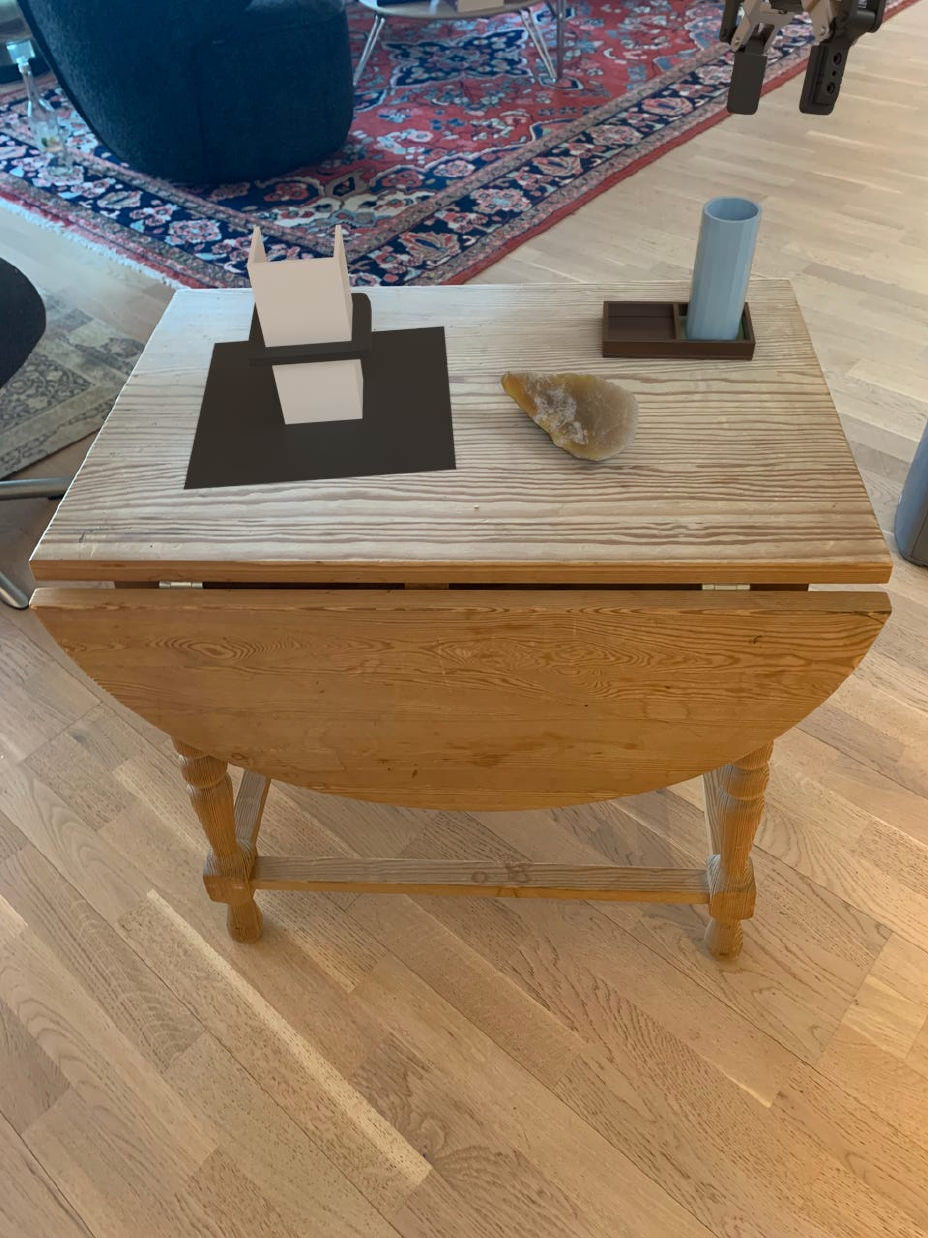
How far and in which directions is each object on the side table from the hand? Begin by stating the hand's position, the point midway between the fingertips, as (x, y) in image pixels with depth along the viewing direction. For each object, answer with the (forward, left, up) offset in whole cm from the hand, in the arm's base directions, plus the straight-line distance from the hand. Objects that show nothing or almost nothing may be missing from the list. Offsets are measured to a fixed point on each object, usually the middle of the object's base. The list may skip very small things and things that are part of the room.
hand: (775, 114), depth 63 cm
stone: (+11, -7, -29) cm, 32 cm away
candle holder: (+31, -21, -29) cm, 48 cm away
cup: (-9, -16, -28) cm, 34 cm away
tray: (-6, -18, -29) cm, 34 cm away
